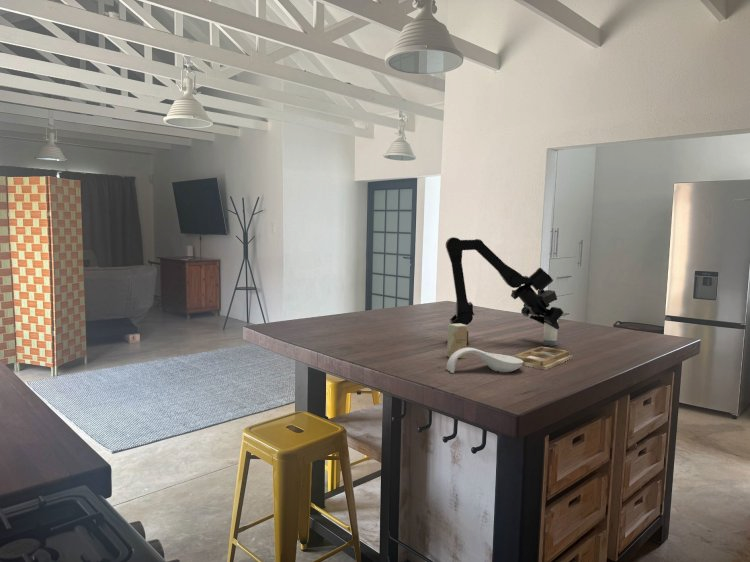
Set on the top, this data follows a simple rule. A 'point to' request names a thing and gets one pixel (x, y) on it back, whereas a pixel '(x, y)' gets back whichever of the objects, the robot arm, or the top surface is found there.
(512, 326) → the top surface
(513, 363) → the spoon rest
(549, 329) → the sleeve
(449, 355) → the box
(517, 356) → the bay board
